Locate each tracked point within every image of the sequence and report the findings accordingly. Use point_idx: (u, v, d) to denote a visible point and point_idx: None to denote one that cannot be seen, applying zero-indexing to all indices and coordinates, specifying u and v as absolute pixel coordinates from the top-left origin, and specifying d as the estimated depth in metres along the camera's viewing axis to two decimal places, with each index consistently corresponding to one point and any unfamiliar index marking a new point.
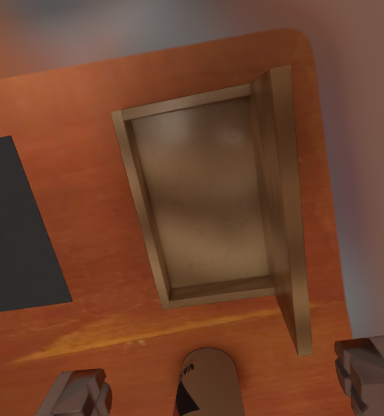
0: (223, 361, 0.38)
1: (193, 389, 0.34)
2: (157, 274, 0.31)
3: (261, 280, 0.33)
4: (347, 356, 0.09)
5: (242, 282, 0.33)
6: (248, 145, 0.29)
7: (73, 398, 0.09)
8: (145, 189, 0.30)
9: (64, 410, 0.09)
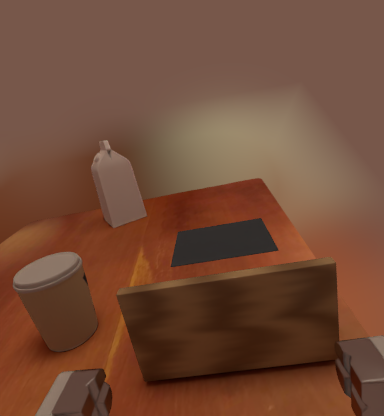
0: (81, 333, 0.42)
1: (88, 290, 0.44)
2: None
3: None
4: (347, 356, 0.09)
5: None
6: None
7: (73, 398, 0.09)
8: None
9: (64, 410, 0.09)
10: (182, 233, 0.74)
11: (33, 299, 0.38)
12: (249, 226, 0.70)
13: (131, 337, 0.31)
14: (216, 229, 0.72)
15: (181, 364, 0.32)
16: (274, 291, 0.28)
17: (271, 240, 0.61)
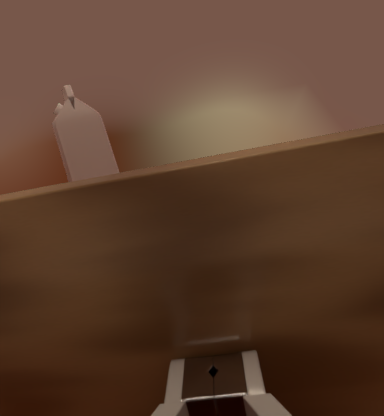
0: None
1: None
2: None
3: None
4: (216, 370, 0.09)
5: None
6: None
7: (199, 385, 0.08)
8: None
9: (195, 397, 0.08)
10: None
11: None
12: None
13: None
14: None
15: None
16: (363, 215, 0.08)
17: None
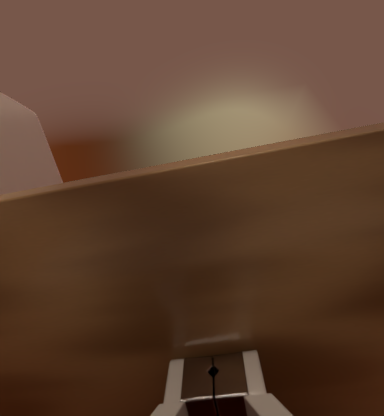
0: None
1: None
2: None
3: None
4: (216, 370, 0.09)
5: None
6: None
7: (198, 385, 0.08)
8: None
9: (194, 397, 0.08)
10: None
11: None
12: None
13: None
14: None
15: None
16: (339, 217, 0.08)
17: None
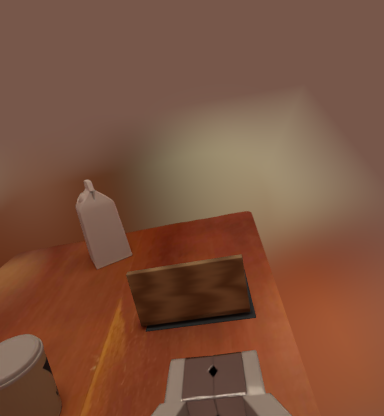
0: None
1: (50, 377, 0.42)
2: None
3: None
4: (216, 370, 0.09)
5: None
6: None
7: (199, 385, 0.08)
8: None
9: (195, 397, 0.08)
10: None
11: None
12: None
13: (134, 299, 0.56)
14: None
15: (162, 315, 0.56)
16: (211, 272, 0.53)
17: (251, 301, 0.59)
